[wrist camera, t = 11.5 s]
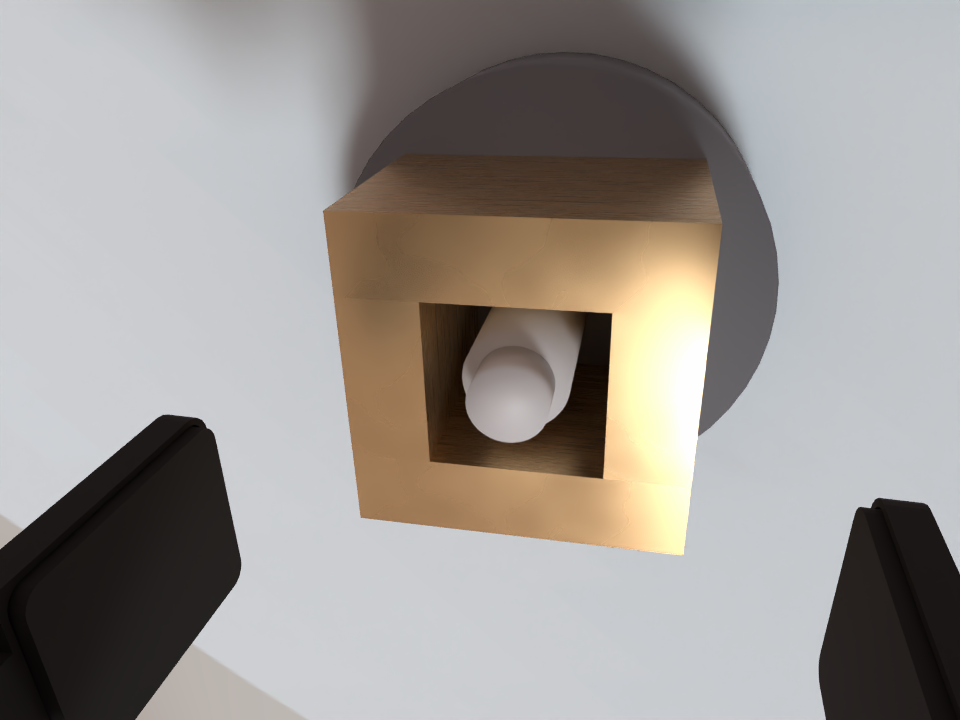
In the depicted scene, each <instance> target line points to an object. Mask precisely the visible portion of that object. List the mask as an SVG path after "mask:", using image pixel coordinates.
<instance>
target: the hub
mask: <svg viewBox="0 0 960 720" xmlns="http://www.w3.org/2000/svg"><path fill="white" fill-rule="evenodd" d="M403 154H437V155H499V156H560V157H621V158H683V159H707V162H708V166H709V170H710V174H711V178H712V183H713V187H714V191H715V195H716V199H717V203H718V207H719V211H720V216H721V220H722V232H721V241H720V249H719V257H718V266H717V274H716V283H715V291H714V299H713V308H712V316H711V325H710V333H709V342H708V350H707V358H706V367H705V375H704V384H703V392H702V400H701V409H700V417H699V426H698V434H697V437H698V436H699V435H701V434H702V433H703V432H705V431H706V430H707V429H709V428H710V427H711V426H712V425H713V424H714V423H715V422H716V421H717V420H718V419H719V418H720V417H721V416H722V415H723V414H724V413H725V412H726V411H727V410H728V409H729V408H730V407H731V406H732V405H733V403H734V402H735V401H736V399H737V398H738V397H739V396H740V394H741V393H742V392H743V390H744V389H745V388H746V386H747V384H748V383H749V381H750V379H751V378H752V376H753V374H754V372H755V371H756V369H757V367H758V365H759V363H760V361H761V359H762V356H763V354H764V351H765V349H766V346H767V344H768V341H769V339H770V334H771V330H772V326H773V322H774V318H775V314H776V307H777V296H778V285H779V280H778V263H777V252H776V247H775V242H774V237H773V233H772V228H771V224H770V221H769V218H768V216H767V213H766V210H765V208H764V205H763V202H762V200H761V197H760V194H759V192H758V190H757V188H756V185H755V183H754V181H753V179H752V176H751V174H750V172H749V169H748V167H747V165H746V163H745V161H744V160H743V158H742V156H741V154H740V152H739V151H738V149H737V147H736V145H735V143H734V142H733V140H732V139H731V138H730V136H729V135H728V134H727V132H726V131H725V130H724V128H723V127H722V126H721V125H720V123H719V122H718V121H717V119H716V118H715V117H714V116H713V115H712V114H711V113H710V112H709V111H707V110H706V109H705V108H704V107H703V106H702V105H701V104H700V103H699V102H698V101H697V100H696V99H695V98H693V97H692V96H691V95H689V94H688V93H687V92H685V91H684V90H682V89H681V88H680V87H678V86H677V85H676V84H674V83H673V82H671V81H669V80H667V79H665V78H663V77H661V76H660V75H658V74H656V73H654V72H652V71H650V70H648V69H645V68H643V67H640V66H637V65H634V64H632V63H629V62H626V61H623V60H620V59H615V58H610V57H605V56H601V55H596V54H586V53H571V52H560V53H547V54H536V55H531V56H527V57H522V58H518V59H513V60H509V61H506V62H504V63H501V64H498V65H496V66H493V67H490V68H488V69H485V70H483V71H481V72H479V73H477V74H475V75H474V76H472V77H470V78H468V79H466V80H464V81H463V82H461V83H459V84H457V85H455V86H453V87H452V88H450V89H448V90H446V91H444V92H442V93H440V94H439V95H437V96H435V97H433V98H431V99H430V100H428V101H427V102H426V103H424V104H423V105H422V106H420V107H419V108H418V109H416V110H415V111H414V112H412V113H411V114H410V115H408V116H407V117H406V118H405V119H404V120H403V121H402V122H401V123H400V124H399V125H398V126H397V127H396V128H395V129H394V130H393V131H392V132H391V133H390V134H389V135H388V136H387V137H386V138H385V139H384V141H383V142H382V143H381V145H380V146H379V147H378V149H377V150H376V151H375V153H374V154H373V155H372V157H371V158H370V159H369V161H368V163H367V165H366V167H365V168H364V170H363V172H362V174H361V176H360V178H359V179H358V181H357V183H356V185H355V188H356V187H358V186H359V185H361V184H362V183H364V182H365V181H366V180H368V179H369V178H371V177H372V176H374V175H375V174H376V173H378V172H379V171H381V170H382V169H384V168H385V167H386V166H388V165H389V164H391V163H392V162H393V161H395V160H396V159H398V158H399V157H401V156H402V155H403ZM355 188H354V189H355ZM478 320H479V334H478V336H477V338H476V340H475V342H474V344H473V346H472V348H471V349H470V351H469V353H468V355H467V357H466V359H465V362H464V365H463V370H462V381H463V386H464V390H465V393H466V401H465V404H466V410H467V414H468V416H469V418H470V420H471V422H472V423H473V424H474V426H475V427H476V428H477V429H478V430H479V431H480V432H482V433H483V434H485V435H486V436H488V437H490V438H492V439H494V440H497V441H501V442H507V443H516V442H522V441H525V440H528V439H530V438H532V437H534V436H535V435H537V434H538V433H539V432H540V431H541V430H542V429H543V427H544V426H545V424H546V423H548V422H549V421H551V420H552V419H554V418H555V417H556V416H557V415H558V414H559V413H560V412H561V411H562V410H563V408H564V407H565V405H566V403H567V401H568V398H569V395H570V390H571V386H572V381H573V377H574V372H575V368H576V363H578V364H592V365H607V366H610V348H611V330H612V313H599V312H581V311H564V310H546V309H528V308H511V307H493V306H478Z"/></svg>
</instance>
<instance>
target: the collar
mask: <svg viewBox="0 0 960 720" xmlns="http://www.w3.org/2000/svg"><path fill="white" fill-rule="evenodd" d="M323 213H324V222H325V230H326V238H327V246H328V254H329V262H330V270H331V279H332V287H333V295H334V303H335V311H336V319H337V327H338V336H339V344H340V352H341V360H342V368H343V376H344V384H345V393H346V401H347V409H348V417H349V425H350V433H351V441H352V450H353V458H354V466H355V474H356V482H357V490H358V499H359V507H360V515H361V518H368V519H377V520H385V521H394V522H402V523H411V524H419V525H428V526H437V527H445V528H454V529H462V530H471V531H479V532H488V533H496V534H505V535H513V536H522V537H530V538H539V539H547V540H556V541H564V542H573V543H581V544H590V545H599V546H607V547H616V548H624V549H633V550H641V551H650V552H658V553H667V554H675V555H683V552H684V543H685V535H686V526H687V518H688V510H689V501H690V493H691V484H692V476H693V468H694V459H695V451H696V442H697V434H698V426H699V417H700V409H701V400H702V392H703V384H704V375H705V367H706V358H707V350H708V342H709V333H710V325H711V316H712V308H713V299H714V291H715V283H716V274H717V266H718V257H719V249H720V241H721V232H722V220H721V216H720V211H719V207H718V203H717V199H716V195H715V191H714V187H713V183H712V178H711V174H710V170H709V166H708V162H707V159H683V158H621V157H560V156H499V155H437V154H403V155H402V156H401V157H399V158H398V159H396V160H395V161H393V162H392V163H391V164H389V165H388V166H386V167H385V168H384V169H382V170H381V171H379V172H378V173H376V174H375V175H374V176H372V177H371V178H369V179H368V180H366V181H365V182H364V183H362V184H361V185H359V186H358V187H356V188H355V189H354V190H352V191H351V192H349V193H348V194H346V195H345V196H344V197H342V198H341V199H339V200H338V201H336V202H335V203H334V204H332V205H331V206H329V207H328V208H327V209H325V210H324V211H323ZM478 306H493V307H511V308H528V309H546V310H564V311H581V312H599V313H612V330H611V348H610V366H607V365H592V364H578V363H576V368H575V372H574V377H573V381H572V386H571V390H570V395H569V398H568V401H567V403H566V405H565V407H564V408H563V410H562V411H561V412H560V413H559V414H558V415H557V416H556V417H555V418H554V419H552V420H551V421H549V422H548V423H546V424H545V426H544V427H543V429H542V430H541V431H540V432H539V433H538V434H537V435H535V436H534V437H532V438H530V439H528V440H525V441H522V442H516V443H507V442H501V441H497V440H494V439H492V438H490V437H488V436H486V435H485V434H483V433H482V432H480V431H479V430H478V429H477V428H476V427H475V426H474V424H473V423H472V422H471V420H470V418H469V416H468V414H467V410H466V404H465V401H466V393H465V390H464V386H463V381H462V370H463V365H464V362H465V359H466V357H467V355H468V353H469V351H470V349H471V348H472V346H473V344H474V342H475V340H476V338H477V336H478V334H479V320H478Z"/></svg>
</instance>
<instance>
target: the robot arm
mask: <svg viewBox="0 0 960 720" xmlns="http://www.w3.org/2000/svg"><path fill="white" fill-rule="evenodd" d="M240 571H241V558H240V553H239V548H238V544H237V539H236V534H235V529H234V525H233V520H232V515H231V510H230V506H229V501H228V496H227V492H226V487H225V482H224V477H223V473H222V468H221V463H220V459H219V454H218V449H217V444H216V440H215V436H214V433H213V432H212V431H211V430H210V429H207V428H206V425H205V423H204V422H203V421H202V420H200V419H198V418H193V417H184V416H175V415H162V416H160V417H158V418H157V419H156V420H154V421H153V422H152V423H151V424H150V425H149V426H147V427H146V428H145V429H144V430H143V431H141V432H140V433H139V434H138V435H137V436H135V437H134V438H133V439H132V440H131V441H129V442H128V443H127V444H126V445H125V446H123V447H122V448H121V449H120V450H119V451H117V452H116V453H115V454H114V455H113V456H111V457H110V458H109V459H108V460H107V461H105V462H104V463H103V464H102V465H101V466H99V467H98V468H97V469H96V470H95V471H93V472H92V473H91V474H90V475H89V476H88V477H86V478H85V479H84V480H83V481H82V482H80V483H79V484H78V485H77V486H76V487H74V488H73V489H72V490H71V491H70V492H68V493H67V494H66V495H65V496H64V497H62V498H61V499H60V500H59V501H58V502H56V503H55V504H54V505H53V506H52V507H50V508H49V509H48V510H47V511H46V512H44V513H43V514H42V515H41V516H40V517H38V518H37V519H36V520H35V521H34V522H32V523H31V524H30V525H29V526H28V527H27V528H25V529H24V530H23V531H22V532H21V533H20V534H18V535H17V536H16V537H15V538H13V539H12V540H11V541H10V542H9V543H7V544H6V545H5V546H4V547H3V548H1V549H0V720H135V719H136V718H137V716H138V715H139V714H140V712H141V711H142V710H143V708H144V707H145V706H146V704H147V703H148V702H149V700H150V699H151V698H152V696H153V695H154V694H155V692H156V691H157V689H158V688H159V687H160V685H161V684H162V683H163V681H164V680H165V679H166V677H167V676H168V675H169V673H170V672H171V671H172V669H173V668H174V667H175V665H176V664H177V663H178V661H179V660H180V658H181V657H182V656H183V654H184V653H185V651H186V650H187V649H188V648H189V646H190V645H191V644H192V642H193V641H194V640H195V638H196V637H197V636H198V634H199V633H200V632H201V630H202V629H203V628H204V626H205V625H206V623H207V622H208V621H209V619H210V618H211V617H212V615H213V614H214V613H215V611H216V610H217V609H218V607H219V606H220V605H221V603H222V602H223V601H224V599H225V598H226V597H227V595H228V594H229V592H230V591H231V590H232V588H233V587H234V586H235V584H236V582H237V580H238V578H239V575H240ZM819 683H820V689H821V695H822V700H823V705H824V711H825V716H826V720H960V574H959V571H958V569H957V567H956V565H955V562H954V560H953V558H952V556H951V554H950V551H949V549H948V547H947V545H946V543H945V540H944V538H943V536H942V534H941V531H940V529H939V527H938V525H937V523H936V520H935V518H934V516H933V514H932V512H931V510H930V508H929V507H928V505H926V504H924V503H917V502H909V501H900V500H892V499H883V498H877V499H875V501H874V502H873V504H872V507H871V508H864V507H859V508H858V509H857V511H856V513H855V516H854V520H853V524H852V528H851V532H850V536H849V540H848V544H847V548H846V552H845V556H844V560H843V564H842V568H841V572H840V576H839V580H838V584H837V588H836V592H835V596H834V600H833V604H832V609H831V613H830V617H829V621H828V625H827V629H826V633H825V637H824V641H823V645H822V649H821V653H820V658H819Z"/></svg>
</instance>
